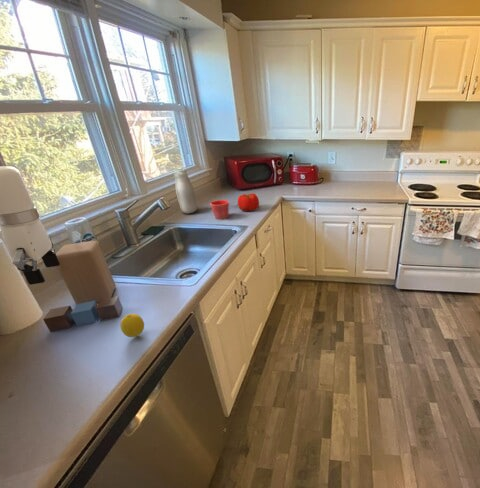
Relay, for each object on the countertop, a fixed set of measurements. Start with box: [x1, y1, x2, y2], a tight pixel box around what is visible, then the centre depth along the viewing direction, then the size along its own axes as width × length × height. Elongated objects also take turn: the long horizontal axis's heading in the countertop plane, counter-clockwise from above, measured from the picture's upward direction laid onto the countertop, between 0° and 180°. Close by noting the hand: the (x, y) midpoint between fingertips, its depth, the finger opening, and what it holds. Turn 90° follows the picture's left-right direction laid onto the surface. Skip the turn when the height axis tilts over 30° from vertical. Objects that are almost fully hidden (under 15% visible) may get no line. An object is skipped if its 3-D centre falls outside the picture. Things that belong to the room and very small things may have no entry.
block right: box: [95, 295, 124, 322], centre depth 91 cm, size 5×5×5 cm
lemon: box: [120, 313, 145, 338], centre depth 82 cm, size 6×6×8 cm
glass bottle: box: [173, 168, 198, 215], centre depth 177 cm, size 10×10×28 cm
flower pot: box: [209, 199, 230, 220], centre depth 173 cm, size 11×11×10 cm
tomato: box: [237, 192, 260, 212], centre depth 186 cm, size 14×13×10 cm
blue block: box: [71, 301, 100, 327], centre depth 89 cm, size 5×5×5 cm
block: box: [55, 240, 116, 306], centre depth 97 cm, size 10×10×20 cm
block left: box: [42, 305, 75, 333], centre depth 87 cm, size 5×5×5 cm
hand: (45, 274), depth 79 cm, fingers open, 9 cm apart
